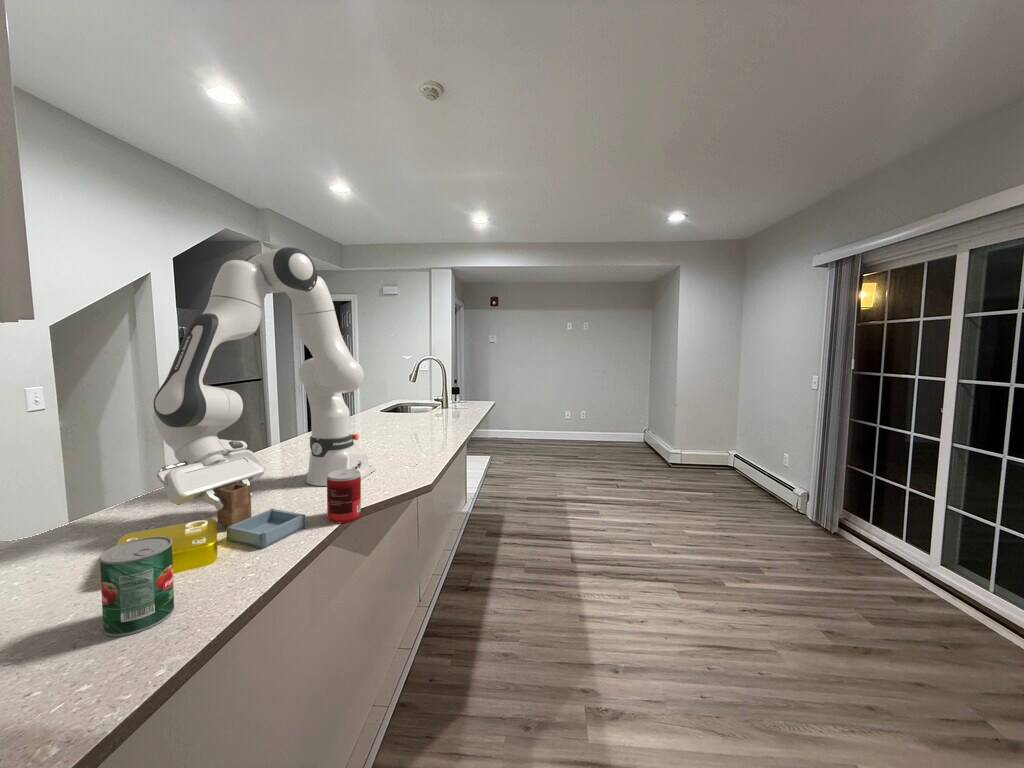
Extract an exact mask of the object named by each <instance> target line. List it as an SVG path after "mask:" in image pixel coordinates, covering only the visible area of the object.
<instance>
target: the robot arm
mask: <svg viewBox="0 0 1024 768" xmlns="http://www.w3.org/2000/svg"><path fill="white" fill-rule="evenodd" d="M272 293H273V294H274V293H279V294H280V293H286V295H287V296H288V298H289V299H290V300H291V303H292V310H293V312H294V313H293V314H294V317H295V321H296V325H297V329H298V332H299V336H300V340H301V342H302V344H303V345H304V346H305V347H306V348H307V349H308V351H309V352H310V355H311V356H312V357H311V358H308V359H306V360H304V362H302V363H301V365H300V366H299V368H298V377H299V380H300V381H301V383H302V384H303V386H304V389H305V391H306V392H305V393H306V396H307V400H308V403H309V409H310V418H311V419H310V420H311V421H310V422H311V424H310V425H311V428H310V429H311V435H310V437H309V448H310V452H309V460H308V469H307V472H306V479H305V482H306V483H307V484H308V485H311V486H316V487H317V486H318V487H327V475H328V474H329V473H330V472H333V471H336V470H342V469H354V470H358V471H360V474H361V480H363V479H365V478H366V477H367V476H369V475H371V474H372V473H373V471H374V472H375V471H376V470H377V469H376V466H374V465H371V464H369V457H368V454H367V453H366V452H365V451H364V450H362V449H360V448H359V447H358V446H357V445H355V443H354V440H355V441H358V440H359V438H360V435H359V433H351V426H350V425H351V423H350V422H351V420H350V419H351V414H350V409H349V407H348V405H347V403H346V402H345V400H344V397H343V394H347V393H351V392H355V391H357V390H359V388H360V387H361V386H362V385H363V382H364V378H365V372H364V369H363V367H362V366H361V364H360V363H359V362H357V360H356V359H355V358H354V357H353V355H352V354H351V352H350V349H349V348H348V347H347V345H346V343H345V340H344V338H343V335H342V333H341V329H340V326H339V321H338V318H337V317H338V316H337V314H336V309H335V305H334V302H333V298H332V296H331V293H330V291H329V288H328V286H327V283H326V282H325V280H324V279H323V278H322V277H321V276H319V275H318V271H317V268H316V265H315V263H314V261H313V259H312V258H311V256H310V255H309V254H308V253H307V252H305V250H302V249H300V248H298V247H290V246H289V247H287V246H286V247H282V248H273V249H269V250H265V251H264V252H260V253H258V254H254V255H251V256H249V257H248V258H246V259H245V260H242V259H241V260H240V259H231V260H227V261H226V262H224V263H223V264H222V265H221V267H220V269H219V271H218V273H217V275H216V277H215V280H214V283H213V285H212V289H211V292H210V295H209V298H208V299H209V300H208V303H207V306H206V307H205V309H204V311H203V312H202V313H200V314H198V315H197V316H195V317H194V318H193V319H192V321H191V322H190V323H189V326H188V327H187V330H186V331H185V333H184V335H183V338H182V340H181V343H180V345H179V348H178V350H177V353H176V355H175V357H174V360H173V363H172V365H171V368H170V370H169V372H168V374H167V377H166V378H165V380H164V381H163V383H162V385H161V386H160V387H159V389H158V390H157V392H156V394H155V395H154V399H153V409H154V410H153V420H154V425H155V426H156V427H155V428H156V429H157V431H158V433H159V435H160V436H161V439H163V441H164V442H165V444H166V445H167V446H168V447H170V448H171V449H172V451H173V454H174V457H175V459H176V460H177V463H173V464H171V465H168V464H167V465H164V466H162V467H161V468H160V469H159V470H158V471H157V472H156V473H157V474H156V477H157V478H158V481H159V482H160V483H161V484H162V485H163V488H164V491H165V493H166V495H167V497H168V499H169V501H170V503H171V504H173V505H177V506H181V505H183V504H184V505H185V504H186V503H187V504H188V503H191V502H193V501H197V500H199V499H202V500H203V502H205V503H207V504H209V505H212V506H214V507H215V509H216V511H217V510H221V509H224V508H226V506H227V505H228V504H227V502H225V501H226V500H225V499H224V498H223V499H219V498H217V495H216V496H215V494H217V493H216V489H220V488H223V487H226V486H229V485H232V484H235V483H237V484H243V485H249V486H251V482H254V481H258V480H259V479H260V478H261V477H262V476H263V475H264V474H265V471H266V467H265V465H264V463H263V462H262V461H261V460H260V459H259V458H260V457H258V456H257V455H256V454H255V453H254V452H253V451H252V450H250V449H247V448H248V444H247V442H245V441H244V440H231V439H230V440H228V439H222V438H219V437H218V435H217V434H218V433H221V432H223V431H225V430H227V429H228V428H230V427H231V426H232V425H233V426H234V424H236V423H237V422H238V421H239V420H240V419H241V417H242V415H243V413H244V409H245V407H244V405H245V404H244V400H243V398H242V396H241V395H240V394H239V392H237V391H236V390H232V389H229V388H225V387H218V386H212V385H206V384H204V382H203V379H204V378H205V377H204V376H205V374H206V371H207V368H208V366H209V363H210V360H211V358H212V355H213V352H214V351H215V349H216V348H217V347H218V346H219V345H220V344H221V343H222V344H223V343H224V342H229V341H235V340H242V339H244V338H248V337H250V336H251V335H253V334H254V333H255V332H256V331H257V329H258V328H259V325H260V324H261V320H262V316H263V310H264V304H265V303H264V302H265V298H266V296H267V295H268V294H272ZM371 472H372V473H371ZM365 476H366V477H365ZM253 496H254V495H253V493H252V492H251V498H253Z"/></svg>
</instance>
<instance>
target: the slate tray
mask: <svg viewBox="0 0 1024 768" xmlns="http://www.w3.org/2000/svg"><path fill="white" fill-rule="evenodd" d="M306 524H307V523H306V514H303V513H298V512H292V511H288V510H282V509H277V508H269V509H267V510H266V511H263V512H261V513H259V514H255V515H253V516H251V518H248V519H246V520H243V521H241V522H238V523H236V524H233V525H231V526H226V541H227V542H229V543H233V544H234V543H235V544H238V545H243V546H246V547H252V548H256V549H260V550H263V549H266V548H268V547H270V546H272V545H274V544H277V543H278V542H280V541H281V540H284V539H286V538H288V537H289V536H292V535H293V534H295V533H298V532H299V531H301V530H304V529H305V528H306V526H307V525H306Z"/></svg>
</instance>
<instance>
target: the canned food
mask: <svg viewBox="0 0 1024 768" xmlns="http://www.w3.org/2000/svg"><path fill="white" fill-rule="evenodd" d="M361 481H362V479H361V474H360V471H358V470H354V469H342V470H336V471H333V472H330V473H329V474H328V475H327V486H326V499H327V500H326V504H327V505H326V508H327V512H326V514H327V515H326V516H327V519H328V521H329V522H331V523H334V524H346V523H350V522H353V521H355V520H357V519H358V518H359V517H360V516H361V514H362V513H361V509H362V508H361V507H362V505H361V504H362V503H361V502H362V499H361V498H362V497H361V496H362V494H361V492H362V491H361V489H362V487H361V486H362V482H361Z"/></svg>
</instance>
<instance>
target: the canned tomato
mask: <svg viewBox="0 0 1024 768" xmlns="http://www.w3.org/2000/svg"><path fill="white" fill-rule="evenodd" d="M116 545H117V544H116ZM116 545H114V546H113V547H110V548H109V549H107V550H105V551H103V552H102V553H101V554H100V555H99V563H100V564H99V566H100V567H99V568H100V569H99V570H100V587H101V590H100V591H101V609H102V611H101V612H102V613H101V614H102V632H103V631H104V632H103V634H104V633H105V635H106V634H107V635H106V636H108V635H111V636H110V637H114V636H117V637H125V635H126V636H130V635H134V634H137V633H141V632H143V631H147V630H149V629H151V628H153V627H154V626H157V625H158V624H161V623H162V622H164V621H166V620H167V619H168V618H169V617H171V616H172V614H173V613H174V612H175V611H174V610H175V594H174V593H175V590H174V588H175V586H174V574H173V560H172V559H173V556H172V539H171V538H168V537H162V536H157V537H147V538H141V539H136V540H132V541H128V542H125V543H122V544H119V545H117V546H116Z"/></svg>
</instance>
